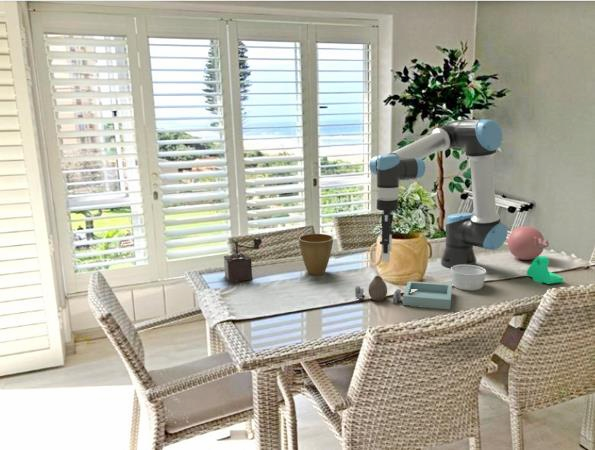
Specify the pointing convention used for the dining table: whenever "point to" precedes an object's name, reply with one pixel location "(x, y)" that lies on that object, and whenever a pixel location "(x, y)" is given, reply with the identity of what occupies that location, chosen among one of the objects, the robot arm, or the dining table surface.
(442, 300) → the parts bin
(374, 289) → the vase
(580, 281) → the dining table surface
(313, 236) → the plant pot
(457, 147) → the robot arm
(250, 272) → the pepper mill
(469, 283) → the ramekin
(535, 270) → the green curved piece
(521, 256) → the balloon
